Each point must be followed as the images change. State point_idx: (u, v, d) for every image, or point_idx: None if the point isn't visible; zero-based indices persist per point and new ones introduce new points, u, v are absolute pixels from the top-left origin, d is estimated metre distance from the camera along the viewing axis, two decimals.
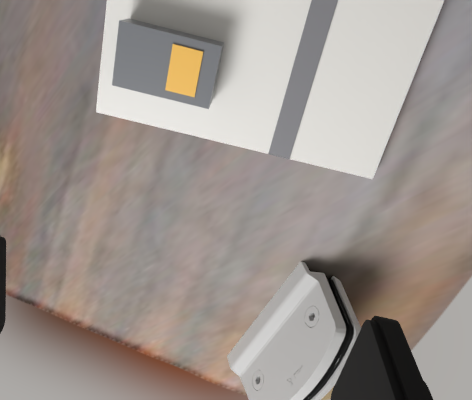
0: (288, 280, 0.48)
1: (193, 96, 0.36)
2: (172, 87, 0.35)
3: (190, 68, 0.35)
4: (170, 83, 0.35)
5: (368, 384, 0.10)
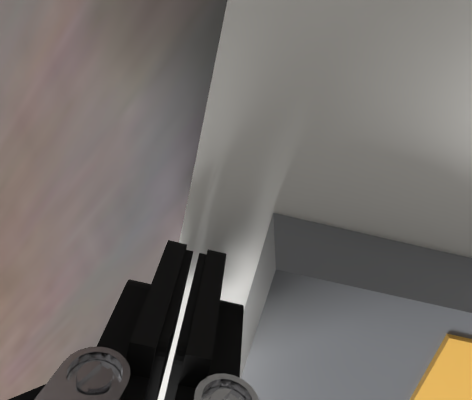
0: None
1: None
2: None
3: None
4: None
5: None
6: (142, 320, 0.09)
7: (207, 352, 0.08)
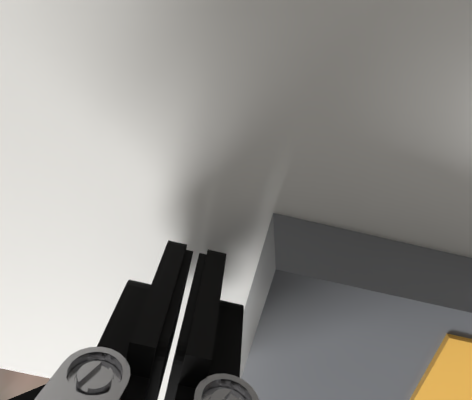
0: None
1: None
2: None
3: None
4: None
5: None
6: (142, 320, 0.09)
7: (207, 352, 0.08)
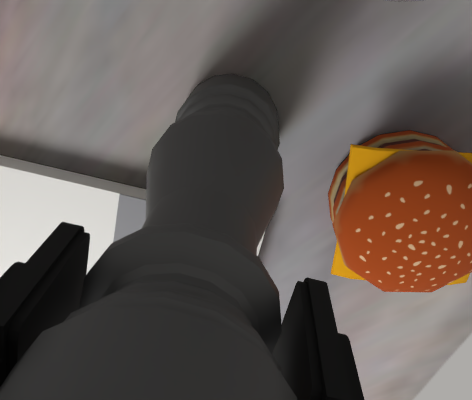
0: None
1: None
2: None
3: None
4: None
5: (293, 337, 0.11)
6: None
7: (346, 394, 0.08)
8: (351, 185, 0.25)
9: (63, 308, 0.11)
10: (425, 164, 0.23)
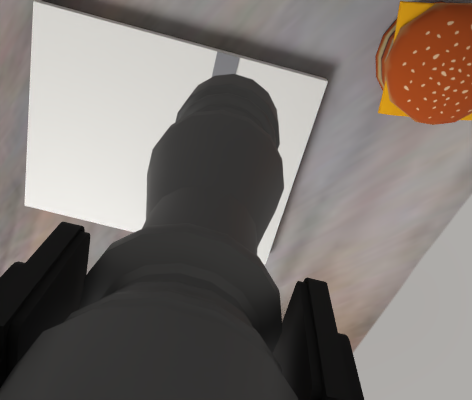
0: None
1: None
2: None
3: None
4: None
5: (293, 337, 0.11)
6: None
7: (346, 394, 0.08)
8: (399, 32, 0.34)
9: (63, 308, 0.11)
10: (455, 10, 0.33)
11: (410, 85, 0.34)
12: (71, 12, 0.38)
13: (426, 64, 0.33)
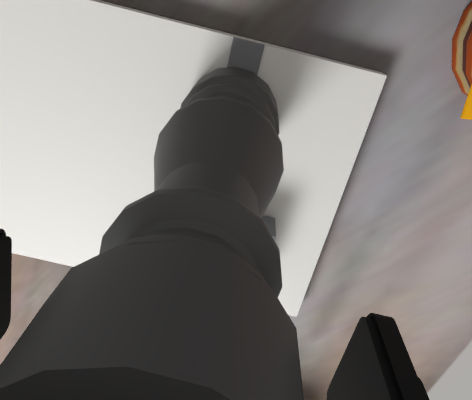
0: None
1: None
2: None
3: None
4: None
5: (363, 380, 0.10)
6: None
7: None
8: None
9: None
10: None
11: None
12: None
13: None
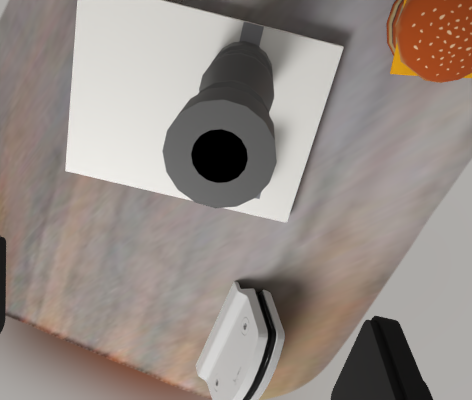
0: (227, 297, 0.58)
1: None
2: None
3: None
4: None
5: (368, 384, 0.10)
6: None
7: None
8: None
9: None
10: None
11: (419, 44, 0.38)
12: None
13: (433, 24, 0.37)
